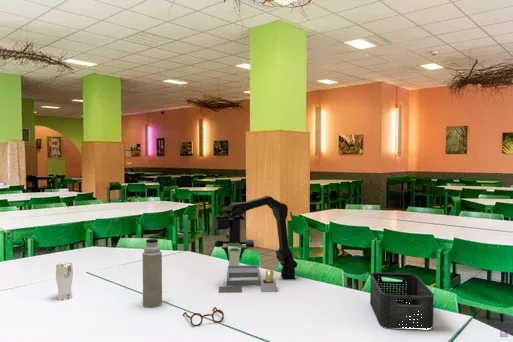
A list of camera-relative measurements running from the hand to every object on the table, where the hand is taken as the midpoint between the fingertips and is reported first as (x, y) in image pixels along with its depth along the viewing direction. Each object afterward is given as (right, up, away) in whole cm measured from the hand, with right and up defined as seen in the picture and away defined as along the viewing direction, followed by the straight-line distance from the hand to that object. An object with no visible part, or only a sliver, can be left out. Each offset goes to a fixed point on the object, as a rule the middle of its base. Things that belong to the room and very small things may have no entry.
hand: (234, 260), depth 202 cm
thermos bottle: (-34, -14, -24) cm, 44 cm away
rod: (+16, -12, -4) cm, 21 cm away
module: (0, -2, 0) cm, 2 cm away
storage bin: (+68, -14, -36) cm, 78 cm away
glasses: (-10, -15, -39) cm, 43 cm away
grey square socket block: (+16, -13, -4) cm, 21 cm away
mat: (-2, -13, -4) cm, 14 cm away
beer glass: (-75, -13, -16) cm, 78 cm away
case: (+4, -12, +17) cm, 21 cm away
